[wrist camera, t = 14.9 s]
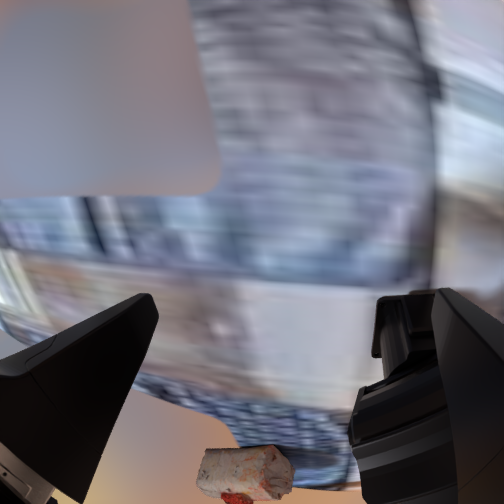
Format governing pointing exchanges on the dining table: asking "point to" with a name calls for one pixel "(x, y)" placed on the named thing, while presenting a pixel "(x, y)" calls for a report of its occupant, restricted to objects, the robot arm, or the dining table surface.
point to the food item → (245, 474)
